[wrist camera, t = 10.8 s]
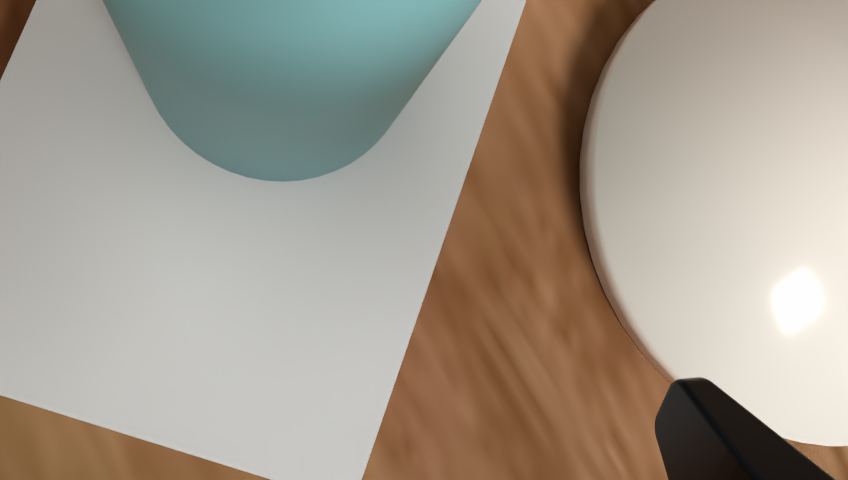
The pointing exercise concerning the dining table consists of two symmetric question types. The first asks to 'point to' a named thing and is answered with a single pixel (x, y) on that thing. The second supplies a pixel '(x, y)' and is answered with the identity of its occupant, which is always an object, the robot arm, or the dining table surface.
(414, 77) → the teal canister
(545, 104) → the dining table surface
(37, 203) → the grey mat
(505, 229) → the dining table surface
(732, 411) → the robot arm
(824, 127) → the cream saucer
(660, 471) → the dining table surface
